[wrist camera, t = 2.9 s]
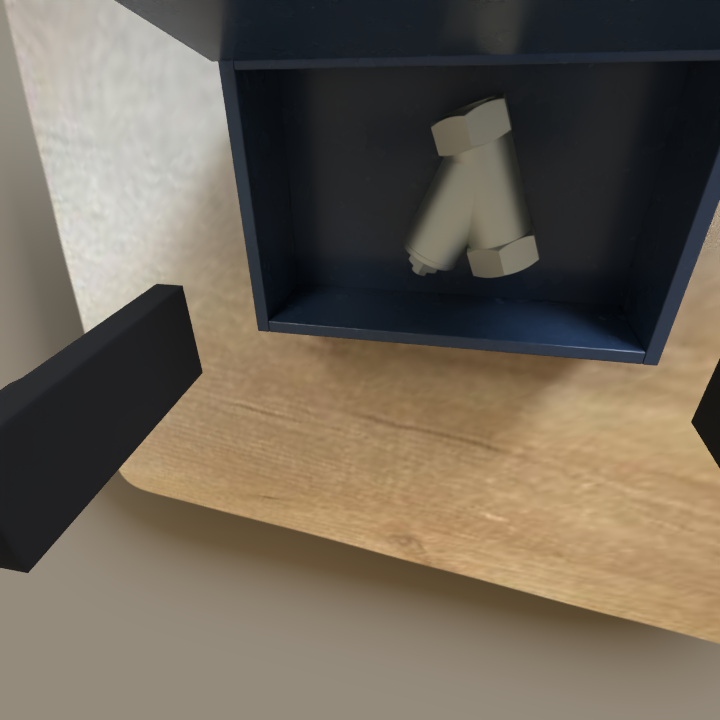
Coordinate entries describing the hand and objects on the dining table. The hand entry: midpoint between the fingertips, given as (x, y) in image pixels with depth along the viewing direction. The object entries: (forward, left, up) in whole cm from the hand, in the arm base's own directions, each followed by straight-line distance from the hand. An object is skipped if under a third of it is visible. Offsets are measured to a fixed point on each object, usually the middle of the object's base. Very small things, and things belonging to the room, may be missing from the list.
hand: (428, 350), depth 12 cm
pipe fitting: (0, 0, -17) cm, 17 cm away
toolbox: (0, 0, -18) cm, 18 cm away
